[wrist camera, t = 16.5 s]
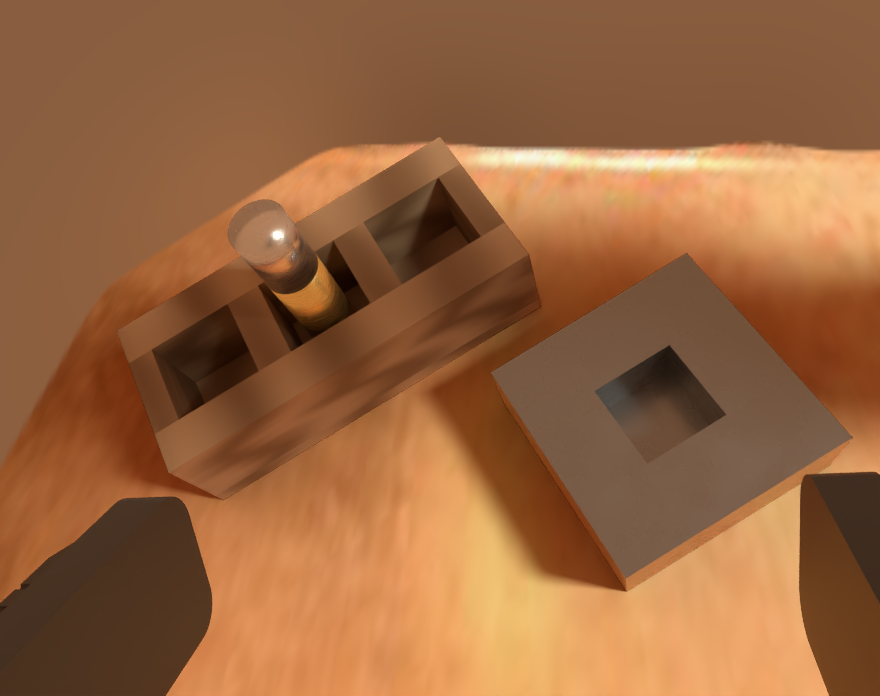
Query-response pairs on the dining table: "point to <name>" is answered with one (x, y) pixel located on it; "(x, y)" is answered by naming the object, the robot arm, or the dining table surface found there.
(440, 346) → the vial rack
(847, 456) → the dining table surface
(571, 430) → the socket block
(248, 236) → the gold clear cylinder
